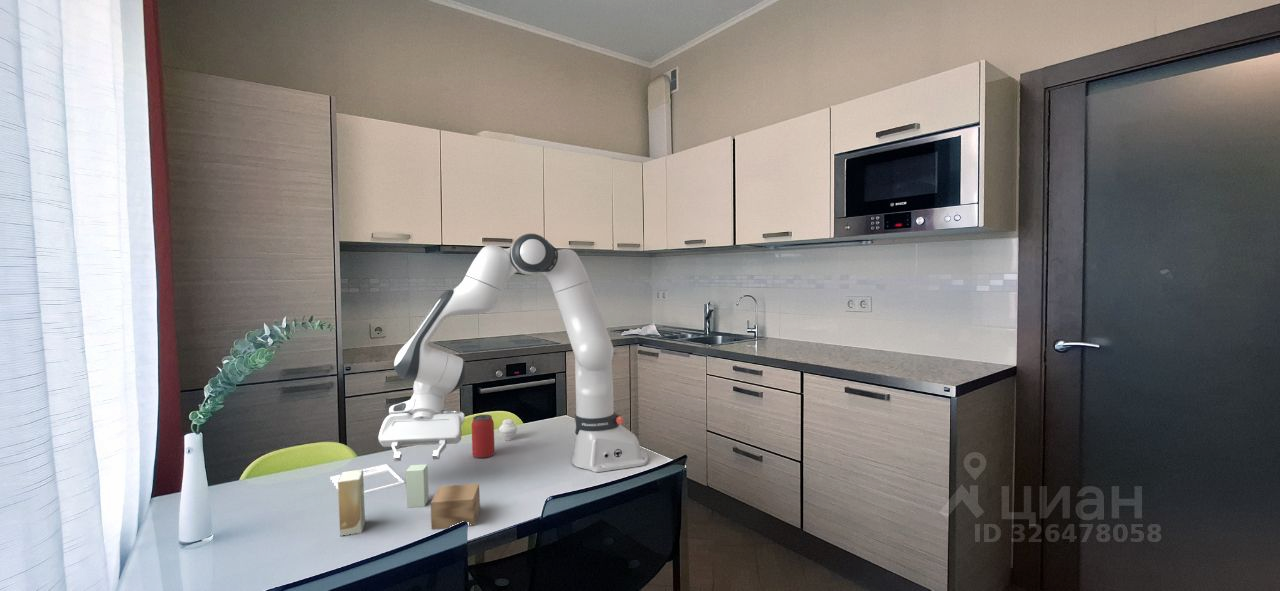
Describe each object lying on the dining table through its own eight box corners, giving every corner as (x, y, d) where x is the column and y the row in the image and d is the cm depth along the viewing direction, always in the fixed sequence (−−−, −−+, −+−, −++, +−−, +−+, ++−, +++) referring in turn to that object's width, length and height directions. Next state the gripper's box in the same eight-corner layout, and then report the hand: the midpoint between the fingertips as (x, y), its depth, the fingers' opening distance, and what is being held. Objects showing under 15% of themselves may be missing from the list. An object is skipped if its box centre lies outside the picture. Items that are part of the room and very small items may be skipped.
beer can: (497, 451, 168) (496, 414, 167) (489, 459, 161) (488, 420, 161) (477, 451, 168) (476, 414, 168) (469, 458, 162) (467, 419, 161)
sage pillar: (428, 499, 133) (427, 464, 132) (424, 506, 129) (423, 470, 128) (411, 500, 132) (410, 465, 132) (407, 508, 128) (405, 471, 128)
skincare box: (344, 524, 120) (341, 471, 120) (365, 520, 122) (363, 468, 121) (339, 537, 114) (336, 481, 114) (361, 533, 116) (359, 478, 115)
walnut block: (479, 508, 127) (479, 483, 127) (473, 525, 118) (472, 499, 118) (440, 511, 126) (439, 486, 126) (431, 529, 117) (430, 502, 117)
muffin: (520, 436, 183) (519, 416, 183) (513, 442, 177) (513, 421, 177) (503, 436, 184) (502, 416, 184) (495, 441, 178) (495, 421, 178)
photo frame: (386, 463, 157) (404, 481, 143) (386, 467, 157) (404, 485, 143) (329, 476, 148) (343, 496, 134) (330, 480, 148) (343, 500, 134)
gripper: (466, 416, 148) (460, 462, 139) (389, 418, 145) (377, 467, 136) (463, 403, 143) (457, 451, 134) (383, 406, 140) (370, 455, 131)
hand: (416, 459), depth 135 cm, fingers open, 8 cm apart
